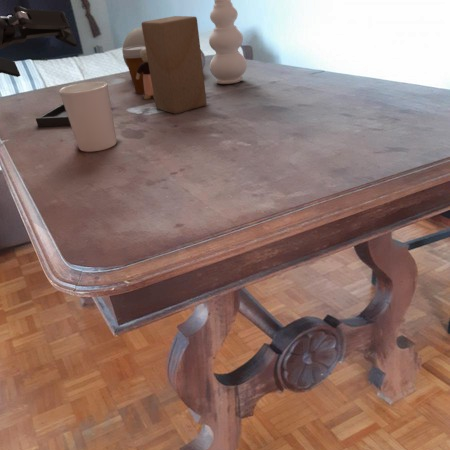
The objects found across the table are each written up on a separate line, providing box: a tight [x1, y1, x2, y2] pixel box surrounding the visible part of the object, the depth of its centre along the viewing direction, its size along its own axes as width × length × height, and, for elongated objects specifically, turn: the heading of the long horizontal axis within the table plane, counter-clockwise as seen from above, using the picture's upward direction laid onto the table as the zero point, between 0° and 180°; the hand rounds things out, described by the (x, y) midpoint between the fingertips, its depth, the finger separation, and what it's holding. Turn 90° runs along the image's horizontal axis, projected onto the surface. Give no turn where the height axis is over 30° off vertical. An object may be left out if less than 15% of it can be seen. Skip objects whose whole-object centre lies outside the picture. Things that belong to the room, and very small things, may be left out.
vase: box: [208, 0, 248, 85], centre depth 135 cm, size 11×11×25 cm
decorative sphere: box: [122, 26, 145, 68], centre depth 157 cm, size 15×15×15 cm
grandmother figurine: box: [136, 48, 155, 100], centre depth 133 cm, size 8×4×13 cm, turn 112°
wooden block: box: [141, 15, 207, 115], centre depth 118 cm, size 10×10×20 cm
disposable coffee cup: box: [122, 45, 146, 95], centre depth 140 cm, size 10×10×12 cm
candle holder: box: [58, 80, 118, 153], centre depth 100 cm, size 10×10×12 cm
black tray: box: [35, 103, 71, 128], centre depth 125 cm, size 14×14×2 cm
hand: (44, 54), depth 92 cm, fingers open, 13 cm apart
